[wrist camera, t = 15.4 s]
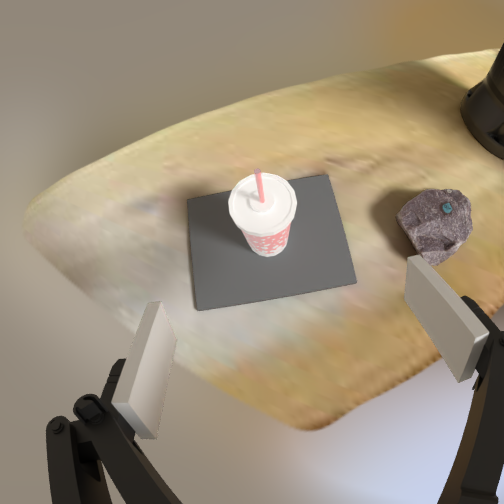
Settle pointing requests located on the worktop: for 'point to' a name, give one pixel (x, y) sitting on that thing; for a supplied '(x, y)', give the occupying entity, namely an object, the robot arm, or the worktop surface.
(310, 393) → the worktop surface
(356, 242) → the worktop surface
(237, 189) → the beverage cup
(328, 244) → the stop mat
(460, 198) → the rock
